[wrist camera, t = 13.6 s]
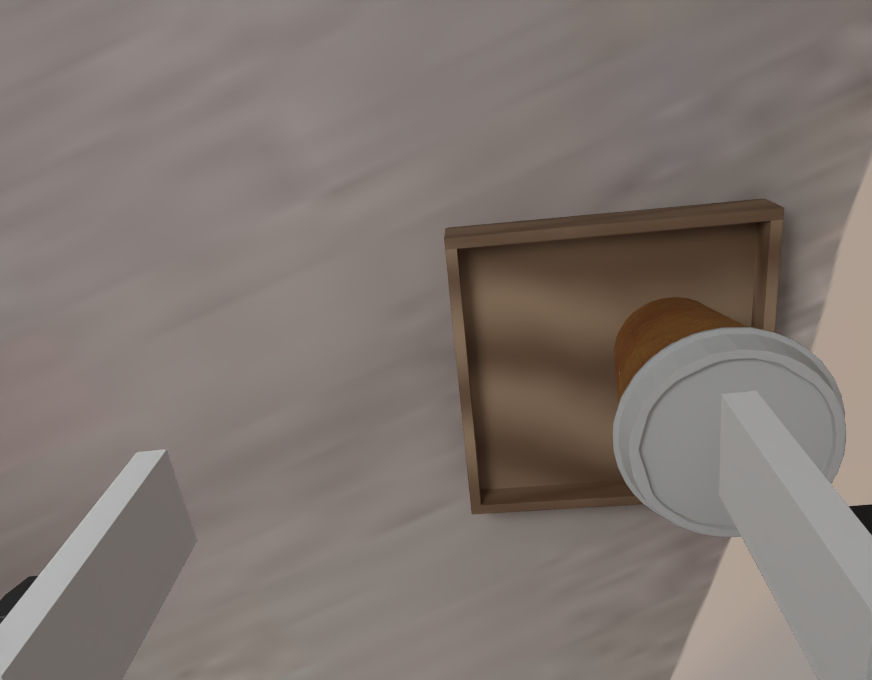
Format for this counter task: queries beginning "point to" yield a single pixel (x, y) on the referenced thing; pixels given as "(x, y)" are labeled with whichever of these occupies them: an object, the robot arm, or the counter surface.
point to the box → (582, 333)
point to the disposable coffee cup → (709, 405)
